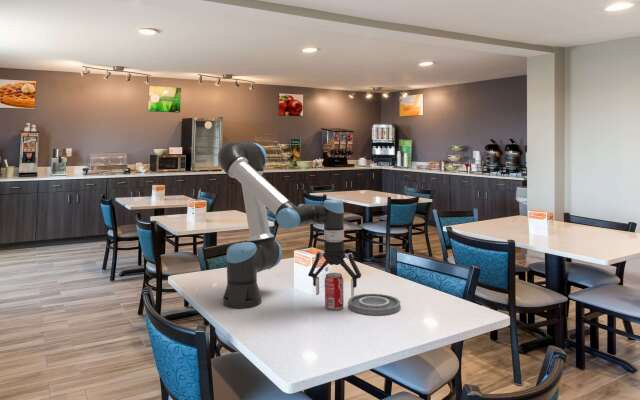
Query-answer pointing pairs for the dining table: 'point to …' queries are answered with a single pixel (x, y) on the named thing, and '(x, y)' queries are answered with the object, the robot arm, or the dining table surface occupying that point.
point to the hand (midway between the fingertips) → (334, 295)
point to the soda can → (334, 291)
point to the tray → (374, 304)
